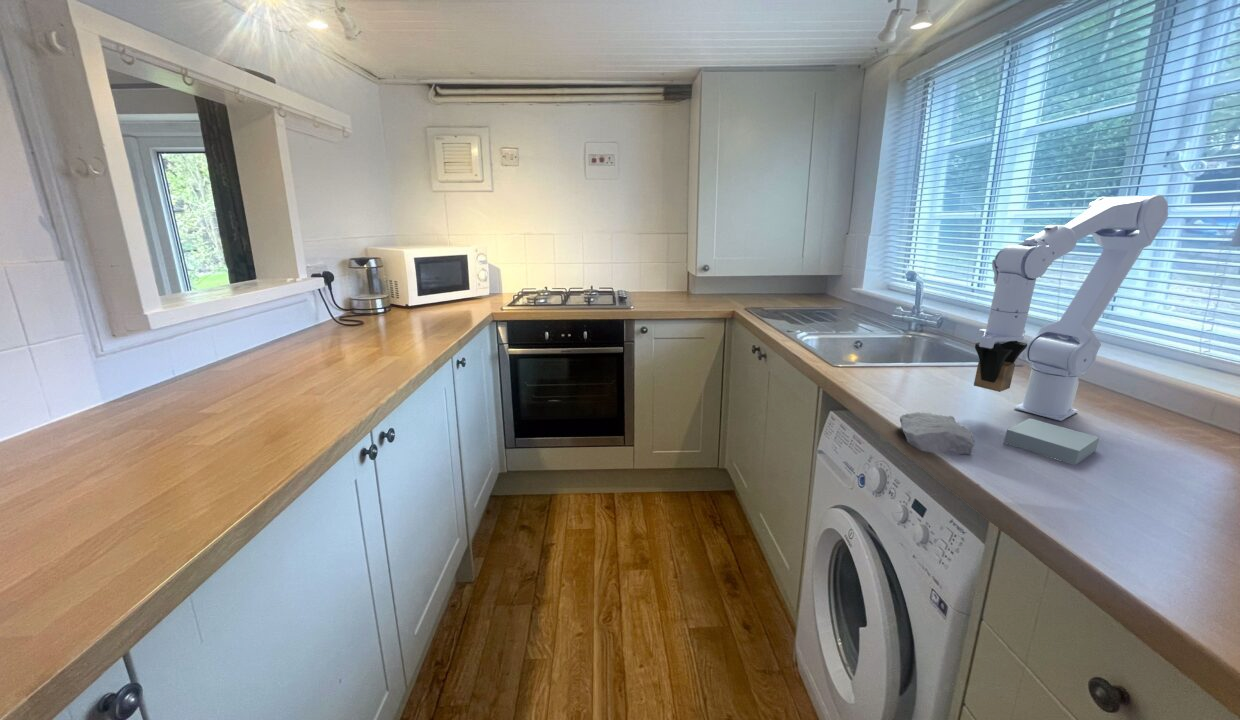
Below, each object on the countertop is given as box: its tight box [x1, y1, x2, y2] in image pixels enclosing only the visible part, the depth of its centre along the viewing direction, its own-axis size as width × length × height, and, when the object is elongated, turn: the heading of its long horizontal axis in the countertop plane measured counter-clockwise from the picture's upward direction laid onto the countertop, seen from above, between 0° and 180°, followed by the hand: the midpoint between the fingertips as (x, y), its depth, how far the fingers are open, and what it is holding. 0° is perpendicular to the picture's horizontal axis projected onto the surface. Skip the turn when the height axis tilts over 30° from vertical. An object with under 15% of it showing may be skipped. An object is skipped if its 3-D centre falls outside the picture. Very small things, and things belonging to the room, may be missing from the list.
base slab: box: [1003, 417, 1100, 466], centre depth 88 cm, size 10×10×3 cm
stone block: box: [899, 411, 975, 456], centre depth 90 cm, size 12×5×10 cm
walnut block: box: [973, 361, 1016, 393], centre depth 98 cm, size 4×4×5 cm
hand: (993, 378), depth 98 cm, fingers closed on walnut block, 4 cm apart
